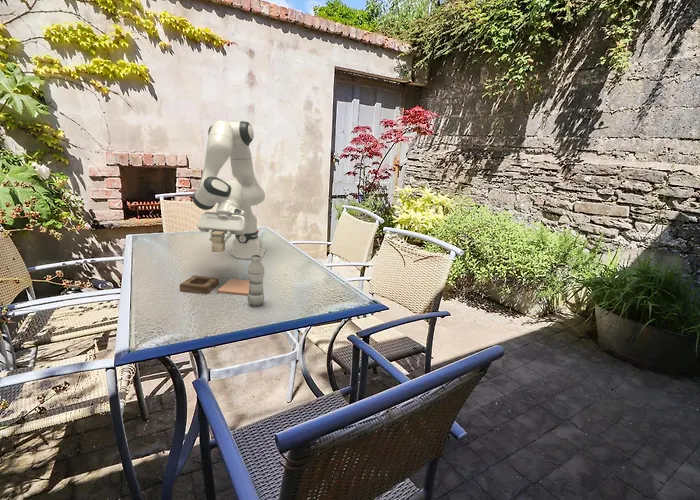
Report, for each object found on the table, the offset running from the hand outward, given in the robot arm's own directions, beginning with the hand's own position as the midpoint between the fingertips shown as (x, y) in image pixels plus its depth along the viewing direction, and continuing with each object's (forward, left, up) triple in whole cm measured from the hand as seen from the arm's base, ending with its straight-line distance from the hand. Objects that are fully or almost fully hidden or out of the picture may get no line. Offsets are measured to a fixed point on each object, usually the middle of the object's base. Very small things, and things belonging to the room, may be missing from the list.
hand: (217, 240), depth 146 cm
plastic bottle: (+11, +20, -22) cm, 32 cm away
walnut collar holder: (+1, -8, -21) cm, 23 cm away
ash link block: (-1, 0, -4) cm, 5 cm away
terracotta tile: (-3, +8, -21) cm, 23 cm away
